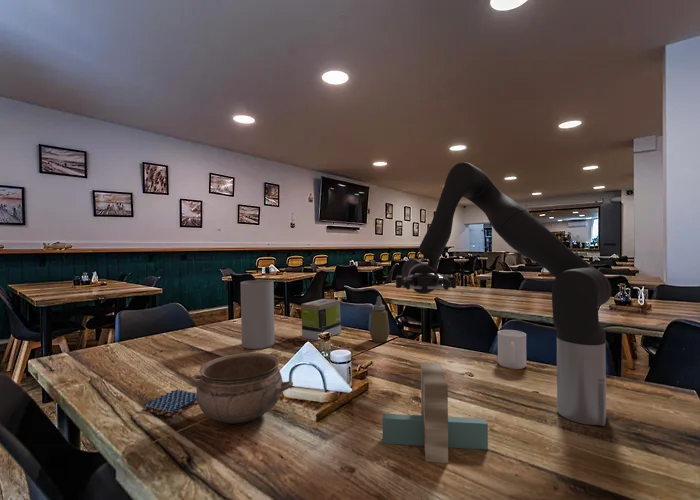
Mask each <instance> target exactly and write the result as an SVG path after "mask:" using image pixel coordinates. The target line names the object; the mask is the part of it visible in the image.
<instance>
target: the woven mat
mask: <svg viewBox="0 0 700 500" xmlns="http://www.w3.org/2000/svg"><path fill="white" fill-rule="evenodd" d="M154 399H155V400H150V401H149V402H147V403H143V406H144V407H143V409H142V410H143V411H145V412H146V411H147V412H148V413H154V414H156V415H159V416H160V415H164V416H166V417H167V416H168V417H171V418H175V417H177V416H178V415H180V414H182V413H184V412H186V411H187V410H189V409H191V408H193V407H195V406H196V405H198V403H197V396H196V392H192V391H190V392H189V391H187V390H185V391H184V390H180V389H176V390H171V391H170V392H167V393H165V395H164V394H163V395H160V397H156V398H154Z"/></svg>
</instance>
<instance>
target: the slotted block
mask: <svg viewBox="0 0 700 500" xmlns="http://www.w3.org/2000/svg"><path fill="white" fill-rule="evenodd" d="M448 386H449V385H448V383H447V379H446V377H445V375H444V372H443V369H442V364H441V362H440V363H439V362H420V404H421V405H420V415H423V416H424V446H423V451H424V460H425V462H427V463H428V462H429V463H442V464H449V447H448V417H449V406H448V405H449V404H448V403H449V401H448V400H449V399H448V398H449V394H448V393H449V391H448Z"/></svg>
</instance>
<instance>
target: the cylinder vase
mask: <svg viewBox="0 0 700 500" xmlns="http://www.w3.org/2000/svg"><path fill="white" fill-rule="evenodd" d="M274 287H275V286H274V280H272V279H271V280H270V279H255V280H252V279H251V280H244V281H240V319H241V320H240V321H241V325H240V326H241V328H240V329H241V346H242V347H243V348H245V349H248V350H261V349H267V348H270V347H272V346H273V345H274V344H275V337H276V336H275V295H274V293H275V291H274V290H275V289H274Z"/></svg>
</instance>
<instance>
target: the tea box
mask: <svg viewBox="0 0 700 500" xmlns="http://www.w3.org/2000/svg"><path fill="white" fill-rule="evenodd" d="M300 306H301V307H300V311H301V334H302V335H301V336H302V337H301V338H303V339H308V340H312V341H319V339H318V334H320V333H323V332H329V333H331V334H332V336H335V335H338V334H341V333H342V318H341V315H342V314H341V300H339V299H331V298H330V299H328V298H321V299H317V300H313V301H308V302H304V303H301V304H300ZM332 336H331V337H332Z"/></svg>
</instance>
